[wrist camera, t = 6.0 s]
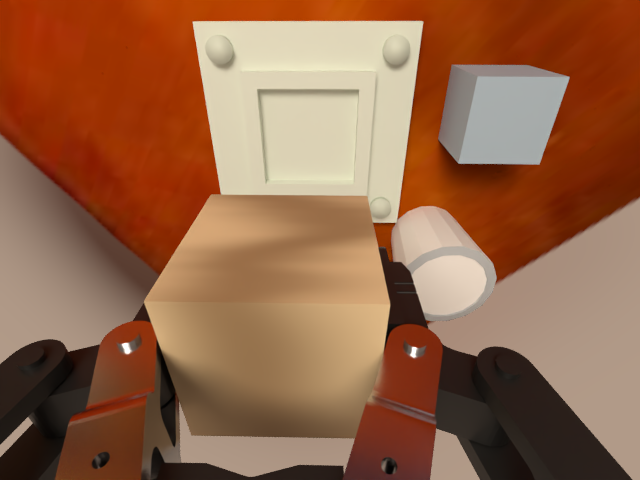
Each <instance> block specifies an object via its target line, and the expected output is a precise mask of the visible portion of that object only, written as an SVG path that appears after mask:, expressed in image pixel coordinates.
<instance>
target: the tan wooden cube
mask: <svg viewBox="0 0 640 480" xmlns="http://www.w3.org/2000/svg"><path fill="white" fill-rule="evenodd" d="M144 303H145V306H146V309H147V312H148V314H149V317H150V320H151V323H152V326H153V328H154V331H155V334H156V337H157V340H158V343H159V345H160V348H161V351H162V354H163V357H164V359H165V362H166V365H167V368H168V371H169V373H170V376H171V379H172V382H173V385H174V387H175V390H176V393H177V396H178V399H179V402H180V404H181V407H182V410H183V413H184V415H185V418H186V421H187V424H188V426H189V430H190V432H191V435H201V436H203V435H204V436H252V437H253V436H254V437H257V436H258V437H308V438H355V437H356V434H357V431H358V427H359V424H360V421H361V417H362V414H363V411H364V408H365V404H366V402H367V399H368V397H369V396H371V394H372V391H373V387H374V384H375V381H376V377H377V374H378V370H379V367H380V364H381V360H382V357H383V352H384V346H385V339H386V332H387V325H388V318H389V311H390V300H389V296H388V291H387V286H386V282H385V277H384V272H383V267H382V263H381V258H380V253H379V249H378V244H377V239H376V235H375V230H374V225H373V220H372V216H371V211H370V206H369V202H368V197H367V196H328V195H211V196H210V197H209V199H208V200H207V202H206V203H205V205H204V207H203V208H202V210H201V211H200V213H199V215H198V216H197V218H196V219H195V221H194V223H193V224H192V226H191V227H190V229H189V230H188V232H187V234H186V235H185V237H184V238H183V240H182V242H181V243H180V245H179V246H178V248H177V250H176V251H175V253H174V254H173V256H172V258H171V259H170V261H169V262H168V264H167V265H166V267H165V269H164V270H163V272H162V273H161V275H160V277H159V278H158V280H157V281H156V283H155V285H154V286H153V288H152V290H151V291H150V293H149V294H148V296H147V297H146V299H145V301H144Z"/></svg>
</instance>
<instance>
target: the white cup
mask: <svg viewBox="0 0 640 480" xmlns="http://www.w3.org/2000/svg"><path fill="white" fill-rule="evenodd" d="M391 244H392V254H393V262H402V263H403V264H404V265H405V267H406V268H407V269H408V270H409V271H410V272H411V275H412V278H413V282H414V285H415V288H416V291H417V294H418V297H419V301H420V304H421V307H422V310H423V313H424V316H425V320H429V321H448V320H452V319H456V318H459V317H462V316H466V315H468V314H469V313H471V312H472V311H474V310H476V309H477V308H479V307H480V306H482V305H483V303H484V302H485V301H486V300H487V299H488V297H489V296H490V295H491V294H492V292H493V289H494V285H495V282H496V278H497V277H496V273H495V270H494V266H493V263H492V262H491V261H490V260H489V258H488V257H487V256H486V255H485V254H484V253H483V251H482V250H481V249H480V248H479V247H478V246H477V244H476V243H475V242H474V241H473V240H472V239H471V237H470V236H469V235H468V234H467V233H466V232H465V230H464V229H463V228H462V227H461V226H460V225H459V223H458V222H457V221H456V220H455V219H454V218H453V217H452V216H451V215H450V214H449V213H448V212H447V211H446V210H444V209H441V208H438V207H435V206H424V207H418V208H416V209H413V210H410V211H408V212H407V213H405V214H404V215H403V216H402V217H401V218H399V219H398V220H397V223H396V224H395V226H394V228H393V229H392V236H391Z"/></svg>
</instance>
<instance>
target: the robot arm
mask: <svg viewBox="0 0 640 480" xmlns="http://www.w3.org/2000/svg"><path fill="white" fill-rule="evenodd" d="M378 249H379V253H380V258H381V263H382V267H383V272H384V277H385V282H386V286H387V291H388V296H389V300H390V311H389V318H388V325H387V332H386V339H385V346H384V352H383V357H382V360H381V364H380V367H379V370H378V374H377V377H376V381H375V384H374V387H373V391H372V394H371V396H369V397H368V399H367V402H366V404H365V408H364V411H363V414H362V417H361V421H360V424H359V427H358V431H357V434H356V437H355V440H354V444H353V447H352V450H351V454H350V457H349V460H348V463H347V467H346V470H345V473H344V471H343V466H324V465H323V466H322V465H297V466H293V467H289V468H285V469H282V470H278V471H274V472H270V473H266V474H263V475H259V476H255V477H247V476H243V475H240V474H237V473H234V472H231V471H228V470H225V469H222V468H219V467H216V466H213V465H210V464H207V463H181V457H180V429H179V428H180V427H179V425H180V423H179V399H178V396H177V393H176V390H175V387H174V385H173V382H172V379H171V376H170V373H169V371H168V368H167V365H166V362H165V359H164V357H163V354H162V351H161V348H160V345H159V343H158V340H157V337H156V334H155V331H154V328H153V326H152V323H151V320H150V317H149V314H148V312H147V309H146V306H145V303H144V304H143V306H142V307H141V309H140V310H139V312H138V314H137V315H136V317H135V318H134V320H133V321H132V322H128V323H125V324H122V325H120V326H118V327H116V328H115V329H113V330H112V331H110V332H109V333H108V334H107V335H106V336H105V337H104V339H103V340H102V342H101V344H100V345H96V346H91V347H87V348H83V349H79V350H75V351H70V352H68V351H67V349H66V347H65V345H64V344H63V343H62V342H60V341H58V340H53V339H52V340H51V339H48V340H42V341H37V342H34V343H31V344H29V345H27V346H25V347H23V348H21V349H19V350H18V351H16V352H15V353H13V354H12V355H11V356H9V357H8V358H7V359H6V360H5V361H3V362H2V363H1V364H0V444H1V443H2V442H3V441H4V440H5V439H6V438H7V437H8V436H9V435H10V434H11V433H12V432H13V431H14V430H15V429H16V428H17V427H18V426H19V425H20V424H21V423H22V422H23V421H24V420H25V419H26V418H27V417H29V418H30V420H31V421H32V422H33V424H32V425H31V426H30V427H29V428H28V429H27V430H26V431H25V432H24V433H23V434H22V435H21V436H20V437H19V438H18V439H17V441H16V442H15V443H14V444H13V445H12V446H11V447H10V448H9V449H8V450H7V451H6V452H5V453H4V454H3V455H2V456H1V457H0V480H430V475H431V467H432V457H433V450H434V449H433V448H434V441H435V433H436V428H437V429H439V430H442V431H445V432H449V433H451V434H454V435H456V436H457V438H458V439H459V441H460V443H461V445H462V447H463V449H464V451H465V453H466V454H467V456H468V458H469V460H470V462H471V463H472V465H473V467H474V469H475V471H476V473H477V475H478V476H479V478H480V480H632V479H631V478H630V476H629V475H628V474H627V473H626V472H625V471H624V470H623V468H622V467H621V466H620V465H619V464H618V463H617V462H616V460H615V459H614V458H613V457H612V456H611V455H610V453H609V452H608V451H607V450H606V449H605V448H604V446H603V445H602V444H601V443H600V442H599V441H598V439H597V438H596V437H595V436H594V435H593V434H592V433H591V431H590V430H589V429H588V428H587V427H586V426H585V424H584V423H583V422H582V421H581V420H580V419H579V418H578V416H577V415H576V414H575V413H574V412H573V411H572V409H571V408H570V407H569V406H568V405H567V404H566V403H565V401H564V400H563V399H562V398H561V397H560V396H559V394H558V393H557V392H556V391H555V390H554V389H553V388H552V386H551V385H550V384H549V383H548V382H547V381H546V379H545V378H544V377H543V376H542V375H541V374H540V373H539V371H538V370H537V369H536V368H535V367H534V366H533V364H531V362H530V361H529V360H527V359H526V358H525V357H524V356H522V355H520V354H519V353H517V352H515V351H513V350H510V349H507V348H504V347H489V348H486V349H483V350H482V351H481V352H480V353H479V354H478V357H477V356H473V355H470V354H466V353H462V352H458V351H455V350H452V349H450V348H448V347H446V346H444V345H443V344H442V343H441V341H440V339H439V338H438V337H437V336H436V334H434V333H433V332H432V331H430V330H429V329H428V326H427V323H426V320H425V316H424V313H423V310H422V307H421V304H420V301H419V297H418V294H417V291H416V288H415V285H414V282H413V278H412V275H411V272H410V271H409V270H408V269H407V268H406V267H405V265H404V264H403V263H402V262H389V259H388V255H387V251H386V248H385V247H378Z"/></svg>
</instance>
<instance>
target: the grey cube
mask: <svg viewBox="0 0 640 480" xmlns="http://www.w3.org/2000/svg"><path fill="white" fill-rule="evenodd" d="M569 78H570V77H568V76H564V75H561V74H557V73H554V72H550V71H547V70H543V69H539V68H536V67H532V66H529V65H452V67H451V72H450V78H449V83H448V89H447V94H446V100H445V105H444V111H443V116H442V122H441V127H440V133H439V138H438V140H439V141H440V142H441V143H442V145H443V146H444V147H445V148H446V149H447V151H448V152H449V153H450V154H451V155H452V156H453V158H454V159H455V160H456V161H457V162H458V164H540V161H541V158H542V155H543V152H544V150H545V147H546V144H547V141H548V138H549V135H550V132H551V129H552V127H553V124H554V121H555V118H556V115H557V112H558V109H559V107H560V104H561V101H562V98H563V95H564V92H565V89H566V87H567V84H568V81H569Z"/></svg>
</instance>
